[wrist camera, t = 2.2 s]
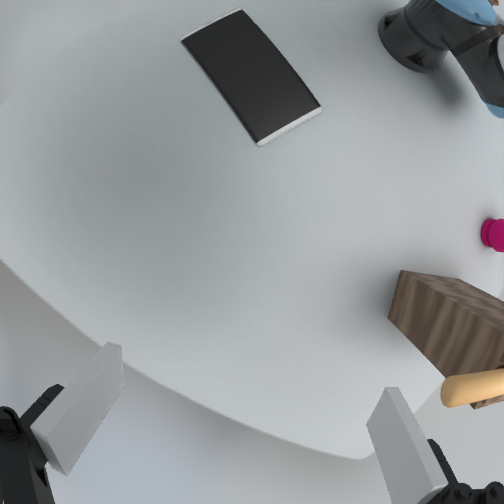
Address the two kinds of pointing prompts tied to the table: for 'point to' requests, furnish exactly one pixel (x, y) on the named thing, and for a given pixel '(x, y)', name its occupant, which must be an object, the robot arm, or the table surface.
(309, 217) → the table surface
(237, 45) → the smartphone
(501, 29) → the candlestick
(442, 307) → the stand
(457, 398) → the pin
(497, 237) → the pepper mill
